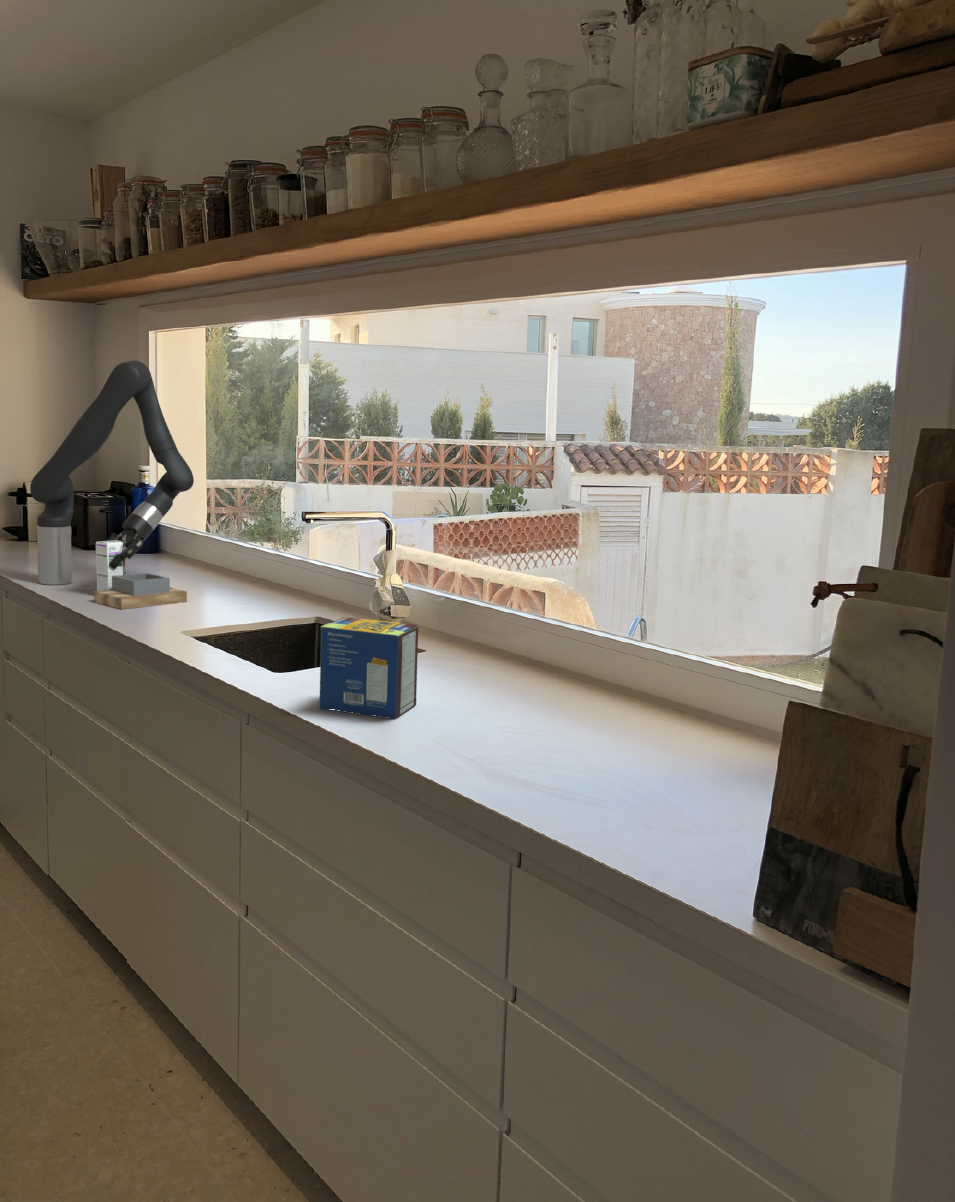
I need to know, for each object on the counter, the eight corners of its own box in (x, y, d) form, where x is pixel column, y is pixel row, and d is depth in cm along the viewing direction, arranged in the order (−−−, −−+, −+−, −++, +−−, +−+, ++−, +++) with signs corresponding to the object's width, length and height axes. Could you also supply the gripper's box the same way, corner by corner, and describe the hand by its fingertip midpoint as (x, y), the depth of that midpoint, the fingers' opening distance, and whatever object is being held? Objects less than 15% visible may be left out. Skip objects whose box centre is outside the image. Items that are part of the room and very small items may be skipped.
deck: (94, 601, 275) (94, 591, 274) (158, 594, 290) (158, 584, 289) (121, 609, 266) (121, 598, 265) (186, 601, 281) (186, 591, 281)
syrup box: (108, 594, 280) (107, 543, 277) (96, 591, 284) (95, 540, 281) (126, 592, 285) (125, 541, 282) (114, 589, 288) (113, 539, 285)
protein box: (341, 695, 192) (343, 616, 190) (417, 705, 188) (420, 624, 185) (317, 709, 182) (319, 625, 180) (396, 720, 178) (399, 634, 175)
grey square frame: (112, 590, 277) (111, 576, 276) (147, 586, 285) (147, 572, 284) (133, 595, 270) (133, 581, 269) (169, 592, 278) (169, 577, 277)
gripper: (120, 510, 290) (82, 553, 283) (148, 515, 281) (110, 560, 274) (137, 527, 295) (100, 570, 288) (165, 532, 286) (127, 577, 279)
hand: (105, 565), depth 281 cm, fingers closed on syrup box, 6 cm apart
